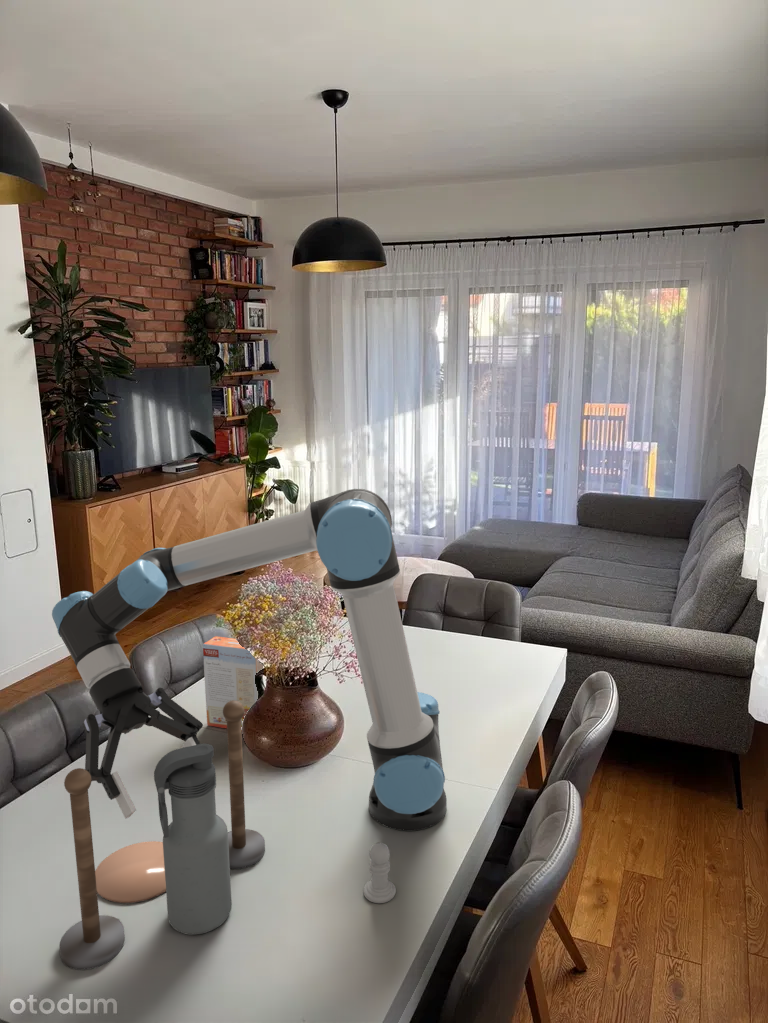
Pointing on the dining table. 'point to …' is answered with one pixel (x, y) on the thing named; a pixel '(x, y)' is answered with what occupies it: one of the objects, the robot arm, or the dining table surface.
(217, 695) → the cracker box
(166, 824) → the water bottle
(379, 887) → the chess piece
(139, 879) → the glossy peach dome
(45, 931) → the dining table surface
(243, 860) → the walnut post
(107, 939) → the walnut post
